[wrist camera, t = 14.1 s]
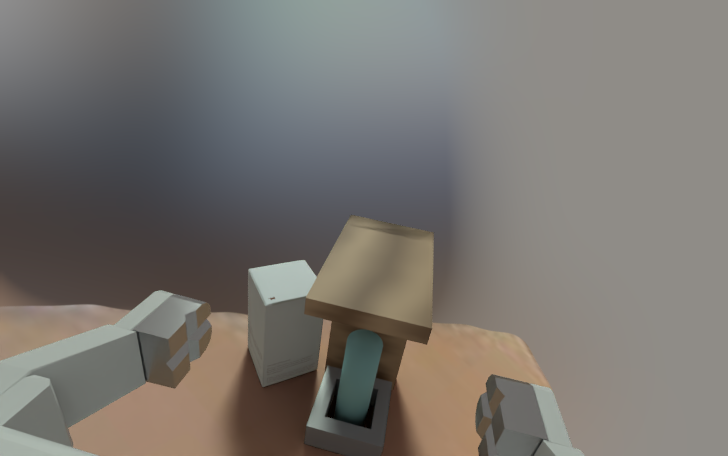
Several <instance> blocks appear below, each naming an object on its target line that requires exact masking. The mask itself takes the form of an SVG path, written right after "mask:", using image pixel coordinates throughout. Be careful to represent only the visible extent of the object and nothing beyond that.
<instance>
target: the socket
mask: <svg viewBox="0 0 728 456" xmlns="http://www.w3.org/2000/svg"><path fill="white" fill-rule="evenodd" d="M341 372H342V369H340V368H336V367H332V366H327V369H326V372H325V374H324V377H323V380H322V383H321V386H320V389H319V391H318V394H317V397H316V400H315V403H314V405H313V408H312V411H311V414H310V417H309V420H308V422H307V425H306V432H305V441H304V444H307V445H310V446H314V447H317V448H321V449H324V450H328V451H331V452H335V453H338V454H342V455H345V456H381V454H382V451H383V447H384V440H385V432H386V425H387V418H388V410H389V403H390V396H391V388H392V382H390V381H386V380H382V379H378V378H375V382H374V387H373V391H372V395H371V399H370V403H369V405H371V406H374V409H373V415H372V420H371V426H370V429H368V428H365V427H361V426H357V425H354V424H350V423H346V422H343V421H339V420H336V419H332V418H328V417H327V416H328V413H329V409H330V406H331V403H332V399H333V396H337V395H338V390H339V384H340V378H341Z"/></svg>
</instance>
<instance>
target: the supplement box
mask: <svg viewBox="0 0 728 456" xmlns="http://www.w3.org/2000/svg"><path fill="white" fill-rule="evenodd" d="M316 278H317V277H316V276H315V274H314V273H313V272H312V270H311V269H310V267H309V266H308V264H307V263H306V261H305V260H300V261H294V262H288V263H282V264H276V265H270V266H265V267H259V268H253V269H249V271H248V348H249V351H250V354H251V357H252V360H253V363H254V365H255V368H256V371H257V374H258V377H259V379H260V382H261V385H262V387H265V386H268V385H271V384H274V383H278V382H280V381H284V380H287V379H290V378H293V377H296V376H299V375H302V374H305V373H308V372H311V371H314V370H316V369H317V366H318V359H319V350H320V342H321V334H322V325H323V319H322V318H318V317H314V316H310V315H306V314H304V311H305V300H306V296H307V294H308V293H309V291H310V289H311V287H312V285H313V283H314V282H315V280H316Z"/></svg>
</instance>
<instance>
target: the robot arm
mask: <svg viewBox="0 0 728 456" xmlns="http://www.w3.org/2000/svg"><path fill="white" fill-rule="evenodd" d="M210 314H211V311H210V305H209V304H208V303H206V302H202V301H198V300H195V299H191V298H188V297H184V296H181V295H177V294H172V293H168V292H165V291H161V290H160V291H156V292H154V293H153V294H151V295H150V296H149V297H148V298H146V299H145V300H144V301H143V302H142V303H141V304H139V305H138V306H137V307H136V308H134V309H133V310H132V311H131V312H129V313H128V314H127V315H126V316H124V317H123V318H122V319H121V320H120V321H118V322H117V323H116V324H115V325H109V324H108V325H105V326H102V327H99V328H96V329H93V330H90V331H87V332H84V333H81V334H78V335H75V336H72V337H69V338H66V339H63V340H60V341H57V342H55V343H52V344H49V345H46V346H43V347H40V348H37V349H34V350H31V351H28V352H25V353H22V354H19V355H16V356H13V357H10V358H7V359H4V360H1V361H0V456H98V455H95V454H92V453H89V452H85V451H82V450H79V449H76V448H73V441H72V438H71V436H70V433H69V430H68V428H69V427H71V426H72V425H74V424H76V423H77V422H79V421H81V420H83V419H84V418H86V417H88V416H90V415H91V414H93V413H95V412H97V411H98V410H100V409H102V408H104V407H105V406H107V405H109V404H110V403H112V402H114V401H116V400H117V399H119V398H121V397H123V396H124V395H126V394H128V393H130V392H131V391H133V390H135V389H137V388H138V387H140V386H142V385H143V384H145V383H146V382H150V383H154V384H159V385H163V386H167V387H171V388H176V387H177V385H178V384H179V383H180V382H181V380H182V379H183V378H184V377H185V375H186V374H187V373H188V372H189V370H190V362H191V361H193V360H195V359H197V358H200V357H201V355H202V354H203V353H204V351H205V350H206V348H207V346H208V344H209V342H210V339H211V333H212V326H211V324H210V323H209V321H208V320H207V318H208V316H209V315H210ZM486 389H487V392H486V393H484V394H482V395H481V396H480V398H479V401H478V403H477V409H476V421H475V423H476V432H477V433H478V435H479V436H480V437H481V439H482V441H481V443H480V445H479V447H478V452H479V456H585V455H584V454H583V453H582V452H581V451H580V450H579V449H576V448H573V447H572V444H571V441H570V438H569V435H568V433H567V430H566V427H565V424H564V422H563V419H562V416H561V413H560V410H559V408H558V405H557V402H556V399H555V396H554V393H553V391H552V390H551V389H550V388H547V387H543V386H539V385H535V384H529V383H526V382H522V381H518V380H514V379H509V378H505V377H501V376H497V375H493V374H492V375H491V376H490V377H489V378H488V380H487V382H486Z"/></svg>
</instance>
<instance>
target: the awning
mask: <svg viewBox="0 0 728 456" xmlns="http://www.w3.org/2000/svg"><path fill="white" fill-rule="evenodd" d="M433 234H434V233H433V232H428V231H423V230H419V229H414V228H410V227H405V226H400V225H396V224H391V223H386V222H382V221H377V220H373V219H368V218H363V217H359V216H354V215H351V216H350V218H349V220H348V221H347V223H346V225H345V227H344V229H343V230H342V232H341V234H340V236H339V238H338V240H337V241H336V243H335V245H334V247H333V249H332V251H331V252H330V254H329V256H328V258H327V260H326V262H325V263H324V265H323V267H322V269H321V271H320V272H319V274H318V276H317V278H316V280H315V282H314V283H313V285H312V287H311V289H310V291H309V293H308V294H307V296H306V300H305V311H304V314H306V315H310V316H314V317H318V318H322V319H326V320H330V321H332V324H331V331H330V338H329V345H328V352H327V359H326V366H325V372H326V369H327V366H332V367H336V368H340V369H342V366H343V361H344V355H345V349H346V343H347V338H348V336H349V334H350V333H352V332H353V331H355V330H360V329H365V330H370V331H372V332H374V333H376V334H377V335H378V336H379V337H380V338H381V339H382V342H383V349H382V353H381V357H380V361H379V365H378V370H377V374H376V378H378V379H382V380H386V381H390V382H392V388H391V389H392V390H393V389H394V385H395V381H396V378H397V374H398V370H399V367H400V363H401V359H402V356H403V352H404V349H405V345H406V341H407V340H410V341H414V342H419V343H423V344H427V343H428V340H429V336H430V333H431V330H432V296H433V290H432V289H433V237H434V235H433Z"/></svg>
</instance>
